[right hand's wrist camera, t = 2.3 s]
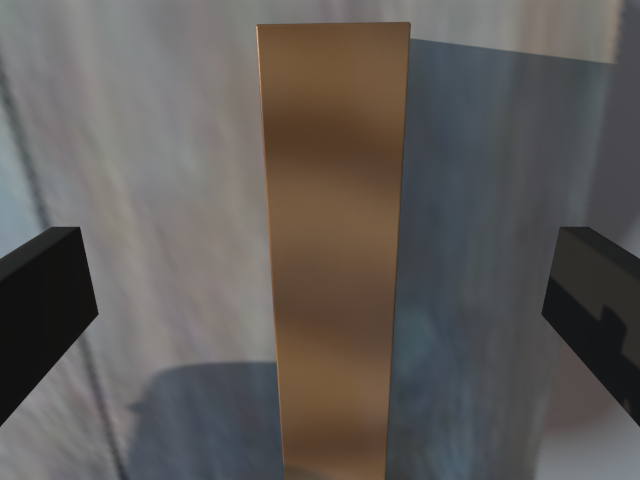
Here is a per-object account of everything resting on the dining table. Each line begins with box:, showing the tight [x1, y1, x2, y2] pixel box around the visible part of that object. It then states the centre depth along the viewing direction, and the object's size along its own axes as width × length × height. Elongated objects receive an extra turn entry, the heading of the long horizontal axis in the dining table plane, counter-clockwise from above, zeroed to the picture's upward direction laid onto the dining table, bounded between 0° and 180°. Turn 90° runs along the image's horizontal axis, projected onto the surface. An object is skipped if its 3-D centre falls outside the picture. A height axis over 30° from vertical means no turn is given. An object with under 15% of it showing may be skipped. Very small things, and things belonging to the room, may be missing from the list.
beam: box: [256, 22, 411, 480], centre depth 28 cm, size 46×5×8 cm, turn 1°
